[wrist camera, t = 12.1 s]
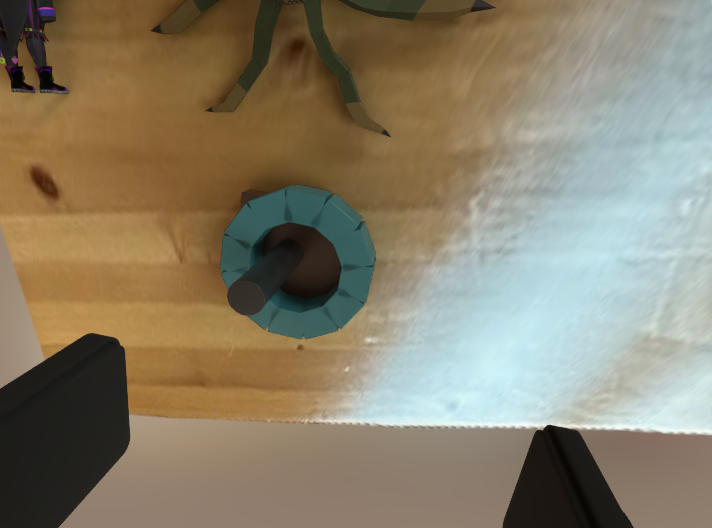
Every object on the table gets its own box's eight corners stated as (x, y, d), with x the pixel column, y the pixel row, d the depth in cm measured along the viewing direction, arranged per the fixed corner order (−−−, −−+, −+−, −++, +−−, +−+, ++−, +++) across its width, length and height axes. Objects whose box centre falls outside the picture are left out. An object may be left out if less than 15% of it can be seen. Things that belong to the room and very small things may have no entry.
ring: (387, 203, 32) (386, 210, 29) (359, 335, 36) (355, 352, 33) (242, 173, 33) (227, 176, 30) (230, 305, 37) (215, 319, 34)
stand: (351, 206, 34) (325, 241, 23) (337, 303, 37) (308, 374, 26) (248, 189, 35) (176, 215, 24) (242, 285, 38) (176, 347, 27)
